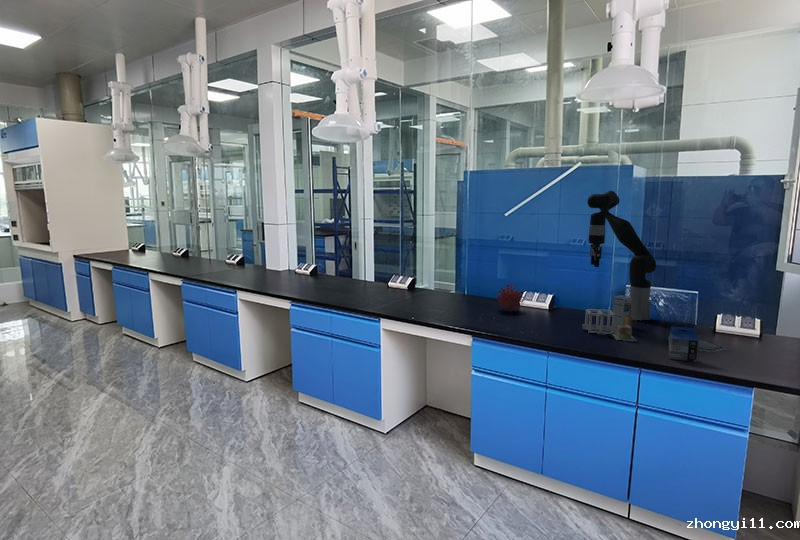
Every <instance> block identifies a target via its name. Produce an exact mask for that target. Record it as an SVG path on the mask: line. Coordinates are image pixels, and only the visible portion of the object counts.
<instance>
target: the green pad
mask: <svg viewBox="0 0 800 540" xmlns="http://www.w3.org/2000/svg"><path fill="white" fill-rule="evenodd" d="M612 335H613V336H614V337H613V336H612ZM612 335H611V336H612V337H613V338H614V340H616V341H617V340H623V341H622V342H634V341H636V342H637V339H636V338H635V337H634V336H633V335H632V334H631V339H623V338H618V337H617V336H616V334H612Z"/></svg>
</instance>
